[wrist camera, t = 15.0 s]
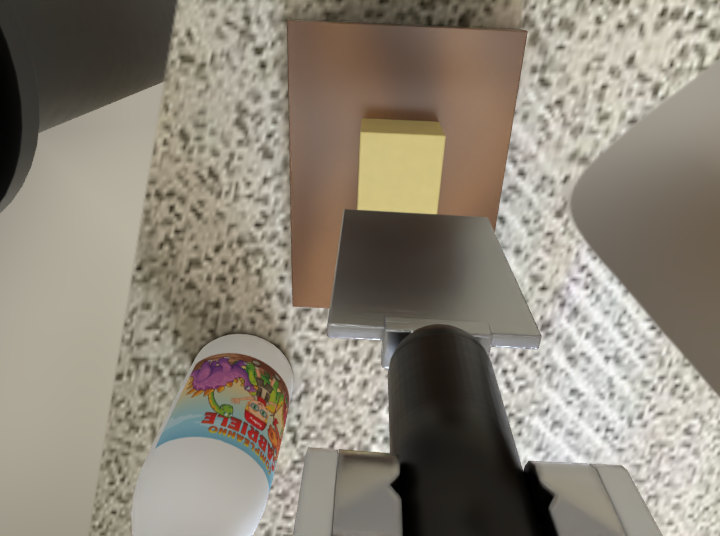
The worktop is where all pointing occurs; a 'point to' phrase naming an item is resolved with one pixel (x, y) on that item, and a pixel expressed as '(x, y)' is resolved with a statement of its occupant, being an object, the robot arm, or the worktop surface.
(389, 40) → the board
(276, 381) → the milk bottle
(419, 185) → the butter block
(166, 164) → the worktop surface
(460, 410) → the knife
